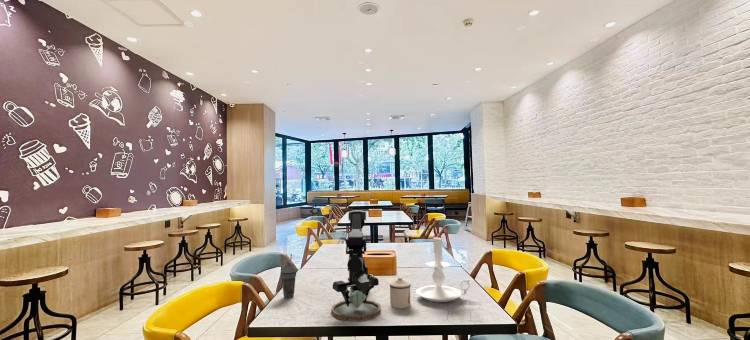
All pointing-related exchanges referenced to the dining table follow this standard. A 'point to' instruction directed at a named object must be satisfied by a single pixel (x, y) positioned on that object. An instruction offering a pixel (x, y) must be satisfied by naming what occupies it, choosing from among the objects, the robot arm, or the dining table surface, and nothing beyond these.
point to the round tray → (356, 311)
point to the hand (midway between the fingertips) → (356, 304)
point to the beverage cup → (288, 279)
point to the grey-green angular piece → (357, 298)
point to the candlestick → (440, 279)
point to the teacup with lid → (400, 293)
